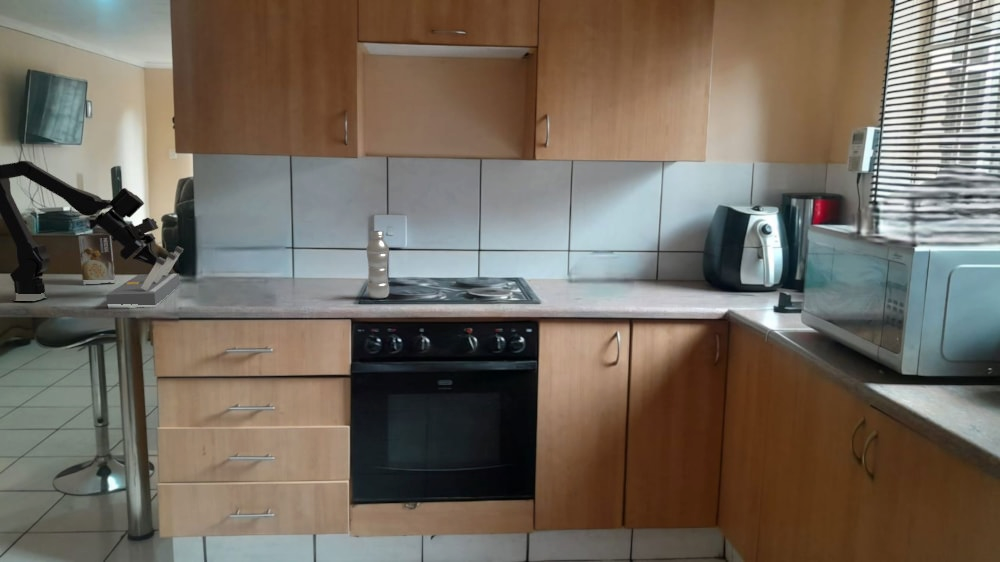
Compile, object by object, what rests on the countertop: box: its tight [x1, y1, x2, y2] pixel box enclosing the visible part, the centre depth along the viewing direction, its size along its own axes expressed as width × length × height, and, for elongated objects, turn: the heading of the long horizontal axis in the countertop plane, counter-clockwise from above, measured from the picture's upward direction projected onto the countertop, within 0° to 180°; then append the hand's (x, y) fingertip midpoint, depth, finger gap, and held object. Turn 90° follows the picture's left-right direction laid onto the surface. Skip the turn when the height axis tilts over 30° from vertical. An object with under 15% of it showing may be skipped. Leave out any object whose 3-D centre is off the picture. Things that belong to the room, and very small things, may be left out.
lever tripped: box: [154, 251, 177, 283], centre depth 212 cm, size 2×3×10 cm
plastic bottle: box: [365, 230, 390, 300], centre depth 212 cm, size 6×7×20 cm
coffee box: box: [78, 232, 116, 281], centre depth 233 cm, size 9×6×16 cm
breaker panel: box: [105, 273, 181, 305], centre depth 212 cm, size 12×35×4 cm, turn 14°
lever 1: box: [141, 256, 167, 291], centre depth 200 cm, size 2×3×10 cm
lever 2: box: [163, 245, 185, 276], centre depth 225 cm, size 2×3×10 cm
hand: (161, 266), depth 212 cm, fingers closed, pressing on lever tripped
